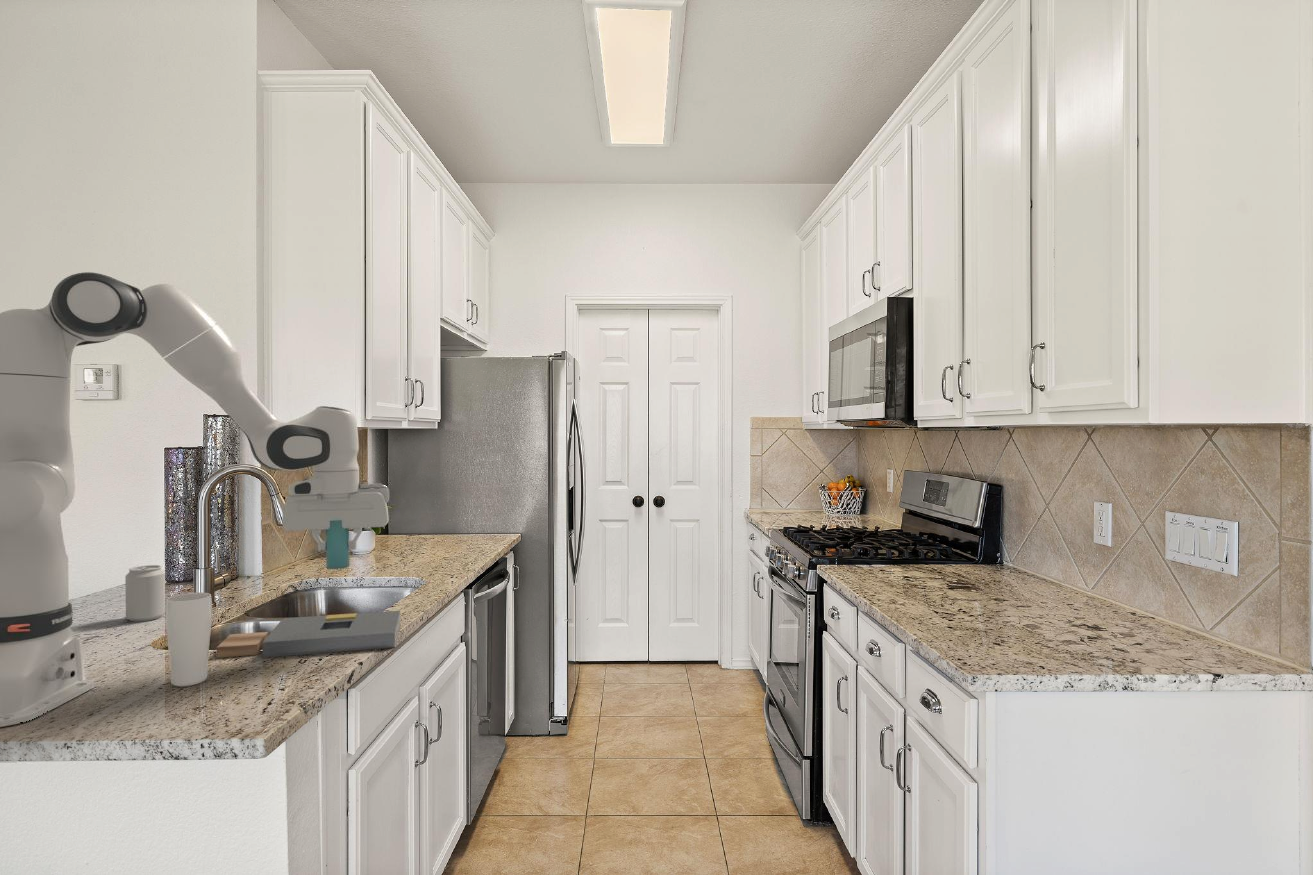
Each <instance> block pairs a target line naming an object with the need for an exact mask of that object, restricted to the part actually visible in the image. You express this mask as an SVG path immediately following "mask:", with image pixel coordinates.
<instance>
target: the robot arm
mask: <svg viewBox="0 0 1313 875" xmlns="http://www.w3.org/2000/svg"><path fill="white" fill-rule="evenodd" d="M50 298H51V299H50V301H49V303H48V304H47V305H45V306H44V307H42V308H36V309H31V308H13V309H9V310H5V311H2V312H0V728H1V727H8V726H13V725H18V724H21V723H20V722H23V723H26V721H27V722H30V721H32V719H33V720H34V718H35V719H37V718H38V716H39V717H41V716H42V715H44V714H46V713H48V712H50V711H51V710H53V709H56V708H57V707H59V706H61V705H63V704H65V703H67V702H69V701H71V700H72V699H75V698H76V697H78V696H81V695H83V694H84V693H86V692H88V691H90V690H91V689H94V688H95V681H94V680H93V679H88V678H86V671H85V662H84V660H85V659H84V652H83V643H82V642H83V641H82V639H81V638H79V636H77V635H76V634H75V633H74V632H73V630H72V628H71V625H72V624H73V616H74V611H73V605H72V603H70V600H69V598H70V597H69V592H70V591H69V556H68V553H67V551H66V546H65V540H64V536H63V528H62V520H61V513H63V512H64V511H65V510H67V508H68V507H69V506H70V505H71V503H72V501H73V500H74V497H75V493H76V485H75V483H76V482H75V465H74V455H73V454H74V453H73V444H72V437H71V436H72V435H71V429H70V428H71V427H70V426H71V425H70V424H71V422H70V418H71V417H70V415H71V412H70V409H71V375H72V374H71V365H72V364H71V363H72V356H73V352H74V350H75V348H76V347H78V346H79V347H80V346H85V345H90V344H91V345H92V344H99V343H103V342H104V343H105V342H108V341H110V340H113V339H114V338H115V339H116V338H117V337H118V336H120V335H123V334H131V335H135V336H137V337H140V338H141V339H142V340H144V341H145V342H147V343H148V344H149V345H150V346H151V347H152V348H153V349H154V350H155V351H156V352H157V353H158V354H159V355H160V356H161V358H163V360H164V361H165V362H167V364H168V365H170V366H171V368H172V369H173V370H175V371H176V372H177V373H178V374H179V375H180V376H182V377H183V378H184V379H185V380H187V381H188V382H189V383H191V384H192V385H193V386H195V387H196V388H197V389H199V390H200V391H202V392H203V393H204V394H205V395H207V396H209V397H210V398H211V399H212V400H213V401H215V402H216V403H217V405H218V406H219V407H221V410H223V411H224V412H225V413H226V414H227V416H228V417H229V418H230V419H231V420H232V422H234V423H235V424H236V426H237V427H238V428H239V429H240V430H241V431H242V432H243V433H244V435H245V437H246V438H247V440H248V443H249V447H250V450H251V452H252V455H253V457H254V459H255V460H256V462H258V463H259V465H261V466H262V467H264V468H265V469H268V470H272V471H290V472H291V471H292V472H294V471H299V470H303V469H305V468H309V467H312V477H311V478H304V479H302V480H301V481H298V482H297V481H296V482H294V483H291V484H290V485H289V486H288V495H290V496H289V497H287V499H286V500H285V502H284V505H283V511H282V528H283V529H284V530H285V531H286V532H293V531H294V532H297V531H299V532H300V531H311V536H312V537H313V539H314V541H315V542H316V543H317V551H318V552H326V541H324V540H322V538H321V536H320V534H321V533H322V530H326V529H329V527H330V521H338V520H342V527H343V528H349V529H353V533H354V534H355V536H354V537H353V539H351V540H350V539H349V541H348V545H349V547H348V550H349V551H351V550H353V551H354V550H355V551H356V550H357V548H358V546H357V541H358V540H359V538H360V536H361V534H362V532H363V529H365V528H384V527H386V525H387V524H388V523H389V521H390V520H389V519H390V518H389V510H388V503H389V502H390V498H391V496H390V489H389V487H388V486H386V485H384V484H382V482H376V483H370V482H369V483H363V482H361V483H360V466H359V463H358V453H359V450H360V444H359V430H358V424H357V420H356V417H355V414H353V413H352V412H351V411H350V410H348V409H345V408H341V407H340V408H339V407H334V406H328V405H327V406H323V405H321V406H317V407H315V408H314V410H312V411H311V412H309V413H307V414H305V415H303V416H300V417H298V418H296V419H293V420H290V421H287V422H284V421H283V420H280V419H277V417H275V416H274V415H273V414H272V413H271V412H270V411H269V409H267V407H266V406H265V405H264V404H263V403H262V401H260V399H259V398H258V397H257V396H256V395H255V393H254V392H253V391H252V390H251V389H250V388H249V386H248V384H247V382H246V381H245V379H244V377H243V376H244V375H243V374H242V367H241V366H242V364H241V363H242V362H241V354H240V352H239V350H238V349H237V347H236V346H235V344H234V342H233V341H232V339H231V338H230V337H229V335H228V333H227V332H226V331H225V330H224V329H223V327H222V326H221V325H219V324H218V322H217V321H216V320H215V318H213V317H212V315H210V314H209V313H208V311H206V309H204V308H203V307H202V306H201V305H200V304H198V302H196V301H195V300H194V299H192V298H191V296H189V295H188V294H187V293H185V291H183V290H181V289H180V288H178V287H177V286H175V285H172V284H169V283H168V284H166V283H163V284H162V283H161V284H159V283H158V284H154V285H150V286H148V287H146V288H144V289H142V290H141V289H140V288H138V287H136V286H133V285H130V284H128V283H125V282H122V281H121V280H118V279H116V278H113V277H111V276H108V275H105V274H102V273H98V272H90V271H88V272H77V273H74V274H70V275H68V276H67V277H65V278H63V279H62V280H61V281H59V283H58V284H57V285H56V286H55V287H54V290H53V292H52V296H51V297H50ZM47 711H48V712H47ZM43 713H44V714H43ZM36 717H37V718H36ZM29 720H30V721H29Z"/></svg>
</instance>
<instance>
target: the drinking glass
mask: <svg viewBox="0 0 1313 875" xmlns="http://www.w3.org/2000/svg"><path fill="white" fill-rule="evenodd" d="M164 614H165V629H166V638H167V647H168V649H167V650H168V655H169V656H168V657H169V665H170V666H169V667H170V683H171V685H173V686H175V687H180V688H181V687H192V686H196V685H198V684H202V683H203V682H205V681H206V680H207V678H208V675H209V674H208V667H209V666H208V665H209V653H210V640H211V633H212V631H211V630H212V620H213V602H212V594H211V593H208V592H188V593H181V594H176V595H172V596H170V597H167V598H165V613H164Z"/></svg>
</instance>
